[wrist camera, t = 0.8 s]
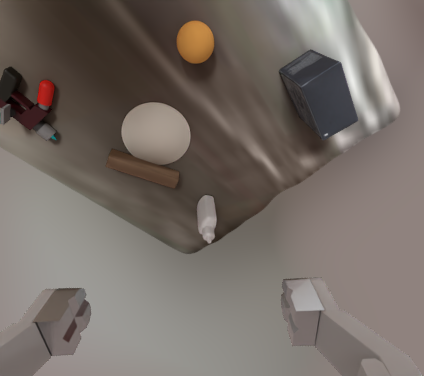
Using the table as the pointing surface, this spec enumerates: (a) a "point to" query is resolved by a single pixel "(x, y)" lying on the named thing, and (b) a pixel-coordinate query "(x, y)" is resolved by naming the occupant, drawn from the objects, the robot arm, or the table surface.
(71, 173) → the table surface
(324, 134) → the small box
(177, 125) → the white flat disc
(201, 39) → the ball
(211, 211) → the eye dropper bottle
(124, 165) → the rail
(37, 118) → the toy gun
